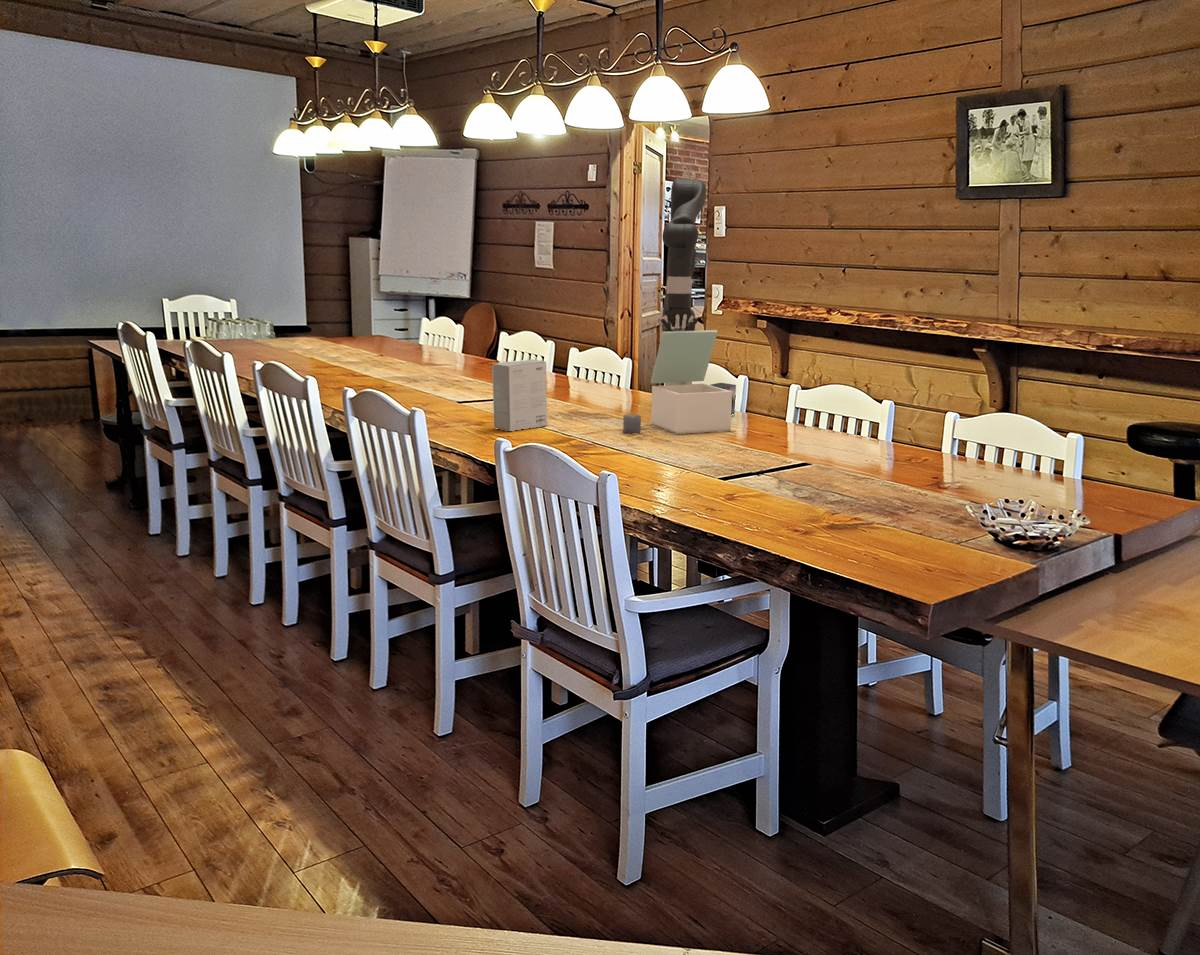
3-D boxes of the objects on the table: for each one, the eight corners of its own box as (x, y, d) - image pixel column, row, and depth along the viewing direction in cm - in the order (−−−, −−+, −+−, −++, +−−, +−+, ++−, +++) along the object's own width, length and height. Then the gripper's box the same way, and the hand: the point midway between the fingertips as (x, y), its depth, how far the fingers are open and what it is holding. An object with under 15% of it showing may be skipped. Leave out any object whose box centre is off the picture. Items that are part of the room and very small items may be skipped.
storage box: (651, 424, 329) (652, 386, 327) (702, 421, 336) (704, 383, 333) (676, 434, 313) (678, 394, 310) (730, 431, 320) (732, 391, 317)
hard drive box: (531, 423, 330) (531, 359, 325) (548, 426, 324) (547, 361, 320) (492, 429, 319) (491, 362, 315) (508, 432, 314) (508, 365, 309)
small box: (719, 420, 339) (720, 387, 336) (701, 417, 343) (702, 385, 340) (735, 415, 347) (737, 383, 345) (718, 413, 351) (719, 382, 348)
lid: (651, 383, 327) (650, 381, 327) (703, 381, 333) (702, 379, 334) (664, 333, 316) (663, 331, 317) (717, 331, 323) (716, 330, 323)
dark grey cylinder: (620, 431, 318) (620, 414, 317) (636, 430, 320) (636, 413, 318) (627, 434, 313) (627, 417, 312) (643, 433, 315) (643, 416, 314)
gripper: (693, 290, 326) (691, 347, 330) (653, 291, 321) (652, 348, 325) (704, 292, 319) (702, 349, 323) (664, 292, 314) (663, 351, 318)
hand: (677, 349), depth 324 cm, fingers closed
